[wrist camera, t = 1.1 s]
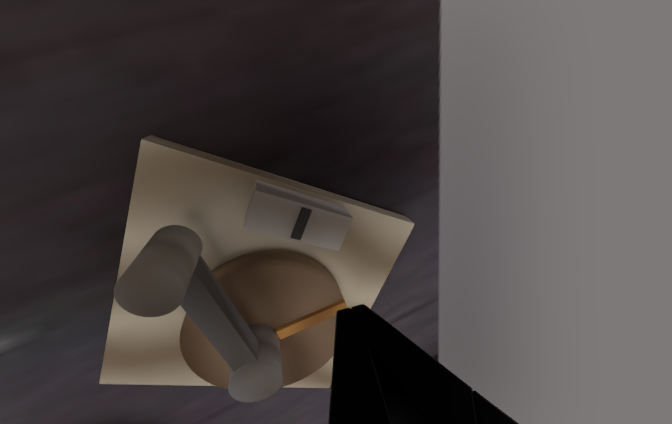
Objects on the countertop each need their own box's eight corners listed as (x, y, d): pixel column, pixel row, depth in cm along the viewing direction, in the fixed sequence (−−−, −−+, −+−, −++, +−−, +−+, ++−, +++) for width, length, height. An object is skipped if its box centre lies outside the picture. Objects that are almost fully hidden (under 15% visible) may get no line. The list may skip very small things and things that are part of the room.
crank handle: (233, 386, 22) (222, 496, 16) (102, 232, 15) (-6, 324, 9) (356, 330, 23) (389, 413, 17) (289, 162, 16) (306, 202, 10)
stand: (325, 373, 27) (334, 412, 23) (109, 364, 20) (80, 416, 17) (405, 216, 22) (430, 237, 18) (151, 135, 15) (121, 146, 12)
